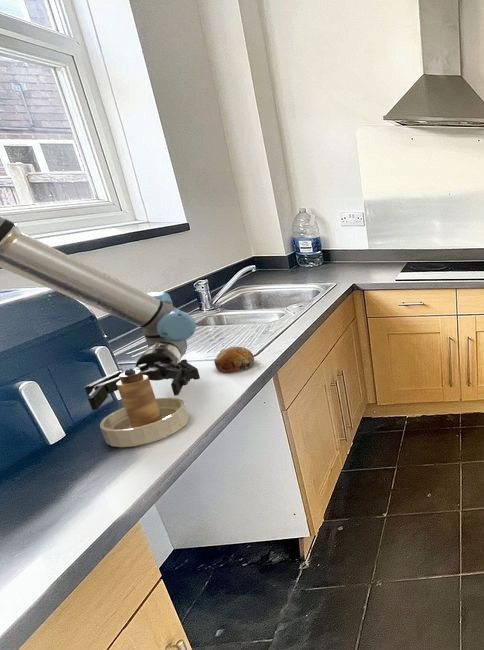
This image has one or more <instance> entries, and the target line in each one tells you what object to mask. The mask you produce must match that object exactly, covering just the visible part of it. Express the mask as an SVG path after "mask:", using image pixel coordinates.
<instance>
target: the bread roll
mask: <svg viewBox="0 0 484 650" xmlns="http://www.w3.org/2000/svg"><path fill="white" fill-rule="evenodd" d="M213 362H214V366H215V368H216V370H217V371H218V372H220V373H222V374H232V373H238V372H242V371H244V370H245V371H246V370H247V369H249V368H251V367H252V366H253V365H254V362H255V357H254V354H253V352H252V351H251V350H250V349H248V348H246V347H245V346H244V347H243V346H236V345H235V346H229V347H227V348H224V349H221V350H220V352H219V353H218V354H217V355H216V357H215V358H214V361H213Z"/></svg>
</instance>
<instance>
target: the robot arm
mask: <svg viewBox="0 0 484 650" xmlns="http://www.w3.org/2000/svg"><path fill="white" fill-rule="evenodd" d="M0 268H1V269H2V270H5V271H8V272H11V273H12V274H15V275H17V276H20V277H22V278H24V279H27V280H29V281H31V282H34V283H36V284H39V285H41V286H43V287H46V288H48V289H51V290H53V291H55V292H56V293H57V292H58V293H60V294H62V295H64V296H66V297H69V298H71V299H74V300H76V301H79V302H81V303H82V304H85V305H87V306H90V307H93V308H94V309H97V310H100V311H102V312H104V313H107V314H109V315H110V316H114V317H116V318H118V319H120V320H123V321H125V322H128V323H130V324H133V325H135V326H136V327H139V328H142V331H143V334H144V338H145V342H146V345H147V348H146V350H145V351H144V352H143V353H142V354H141V355H140V356H139V358H138V359H137V360H136V363H135V367H133V368H132V369H133V370H141V372H142V375H147V376H148V377H149V380H150V381H156V382H157V381H163V380H172V382H171V383H170V386H171V389H172V393H173V396H179V394H180V393H181V391H182V390H183V387H185V386H187V385H188V384H189V382H191V380H195V381H197V380H200V379H201V375H200V372H199V369H198V368H197V367H196V366H194V365H192V364H190V363H189V362H188V360H187V359H182V358H183V357H184V355H186V352H187V350H188V340H189V339H190V338H191V337H192V336H193V335H194V334H195V332H196V330H197V323H196V321H195V319H194V317H192V316H191V315H190V314H189V313H188V312H186V311H184V310H181V309H179V308H177V307H175V306H174V305H173V300H172V299H171V296H170V294H169V293H168V292H165V291H154V292H153V291H152V292H144V291H142V290H140V289H138V288H136V287H134V286H132V285H130V284H128V283H126V282H124V281H122V280H120V279H118V278H116V277H114V276H111V275H110V274H107V273H106V272H103V271H102V270H100V269H97V268H95V267H93V266H91V265H89V264H87V263H85V262H83V261H81V260H79V259H77V258H74V257H73V256H70V255H69V254H66V253H64V252H62V251H61V250H58V249H56V248H55V247H52V246H50V245H48V244H46V243H44V242H42V241H40V240H37V239H36V238H34V237H32V236H30V235H28V234H26V233H24V232H22V231H21V230H20V228H19V225H18V224H17V223H15V222H13V221H12V220H9V219H7V218H6V217H3V216H2V215H0ZM57 289H58V290H57ZM124 372H125V371H124V369H123V368H118V369H115V370H114V371H113V372H112V373H110V374H108V375H106V376H103V377H101V378H99V379H97V380H95V381H93V382H91V383H89V384H87V385H85V386H83V389H84V391H85V394H86V397H87V400H88V403H89V405H90V408H91V410H92V411H95V410H97V411H98V409H99V408H100V407H101V406H102V405H103V403H104V402H105V400H107V398H108V397H109V394H112V393H114V392H117V391H119V390H118V387H117V385H116V383H117V382H118V381H120V378H119V375H120V374H121V373H124Z"/></svg>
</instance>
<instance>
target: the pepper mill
mask: <svg viewBox="0 0 484 650" xmlns="http://www.w3.org/2000/svg"><path fill="white" fill-rule="evenodd" d="M123 372H124V373H121V374H120V375H119V378H120V381H118V382H117V383H116V385H117V387H118V390H117V391H118V393H119V396H120V398H121V400H122V404H123V408H124V407H125V409H126V412H127V415H128V418H129V420H130V423H131V426H132V428H135V427H140V426H144V425H147V424H151V423H154V422H157V421H159V420H161V419H162V416H161V413H160V410H159V407H158V404H157V401H156V399H157V398H156V396H155V395H156V394H155V391H154V390H153V387H152V382H151V380H149V377H148V376H147V375H142V372H141V370H133V368H128V369H126V370H125V371H123Z"/></svg>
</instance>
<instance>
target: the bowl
mask: <svg viewBox="0 0 484 650" xmlns="http://www.w3.org/2000/svg"><path fill="white" fill-rule="evenodd" d="M156 401H157V404H158V407H159V410H160V413H161V416H162V419H161V420H159V421H157V422H154V423H151V424H147V425H144V426H140V427H135V428H132V426H131V423H130V420H129V418H128V415H127V412H126V409H125V407H124V406H123V407H122V408H119V409H117V410H115V411H113V412H111V413H110V414H108V415H107V416H105V417H104V418H102V420H101V421H100V423H99V426H100V430H101V433H102V435H103V438H104V441H105V443H106V444H107V445H108V446H111V447H115V448H127V447H129V448H130V447H137V446H143V445H147V444H151V443H154V442H157V441H159V440H162V439H164V438H167V437H169V436H171V435H173V434H174V433H176V432H178V431H179V430H181V429H182V428H183V427H184V426H185V425H186V424H188V422H189V419H190V416H189V413H188V410H187V407H186V404H185V401H184V400H183V399H180V398H178V397H159V398H156Z"/></svg>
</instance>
